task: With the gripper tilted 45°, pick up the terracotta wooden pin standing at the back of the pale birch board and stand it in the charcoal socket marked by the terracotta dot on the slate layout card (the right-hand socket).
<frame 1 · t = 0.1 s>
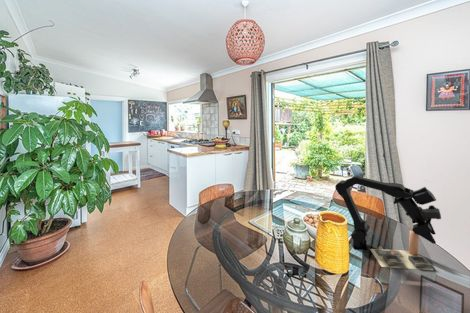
hand: (434, 238, 95), 15 cm above the table, tool tilted 35°, fingers open, 9 cm apart
terracotta pin: (413, 253, 106), point 1 cm above the table, touching pin board
pin board: (398, 260, 104), on the table
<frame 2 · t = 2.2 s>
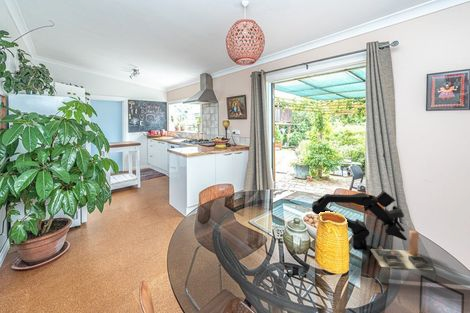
hand: (405, 235, 107), 11 cm above the table, tool tilted 45°, fingers open, 9 cm apart
nothing on the table moved.
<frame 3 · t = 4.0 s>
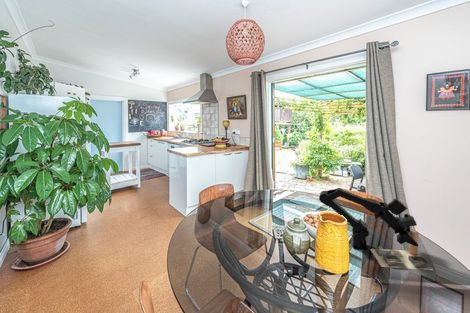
hand: (417, 244, 105), 7 cm above the table, tool tilted 45°, fingers closed on terracotta pin, 3 cm apart
terracotta pin: (413, 253, 106), point 1 cm above the table, touching gripper, pin board
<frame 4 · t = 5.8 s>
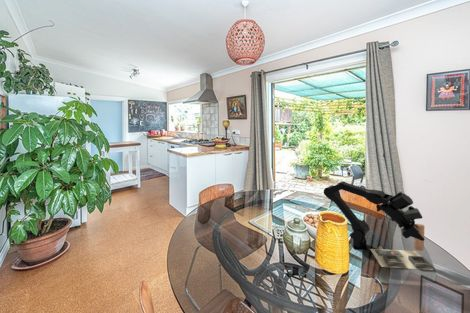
hand: (422, 238, 98), 14 cm above the table, tool tilted 45°, fingers closed on terracotta pin, 3 cm apart
terracotta pin: (418, 248, 100), point 8 cm above the table, touching gripper
when the fingers open (8 cm above the table, at t = 7.6 s): terracotta pin stays where it is, resting on pin board.
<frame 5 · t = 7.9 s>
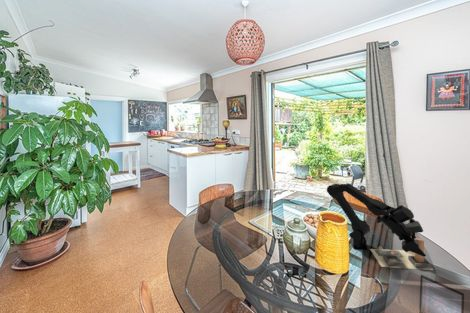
hand: (423, 251, 97), 8 cm above the table, tool tilted 45°, fingers open, 7 cm apart
terracotta pin: (419, 263, 99), point 1 cm above the table, touching pin board
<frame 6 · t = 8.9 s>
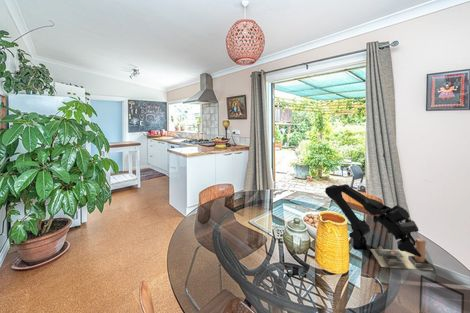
hand: (419, 250, 98), 8 cm above the table, tool tilted 45°, fingers open, 9 cm apart
nothing on the table moved.
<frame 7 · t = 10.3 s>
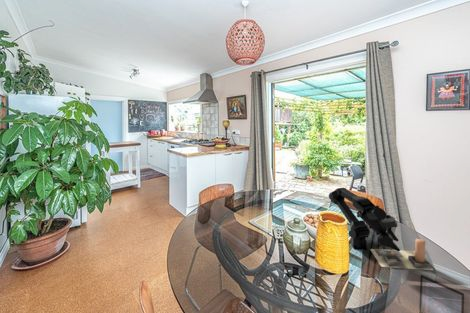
hand: (398, 245, 103), 8 cm above the table, tool tilted 45°, fingers open, 9 cm apart
nothing on the table moved.
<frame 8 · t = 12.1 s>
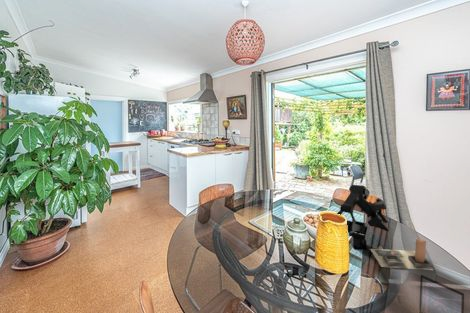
hand: (387, 226, 111), 14 cm above the table, tool tilted 45°, fingers open, 9 cm apart
nothing on the table moved.
at the end: terracotta pin 0.0 cm from the target spot on the pin board, point 1.3 cm above the pin board's base; terracotta pin tilted 2°; the gripper is holding nothing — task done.
